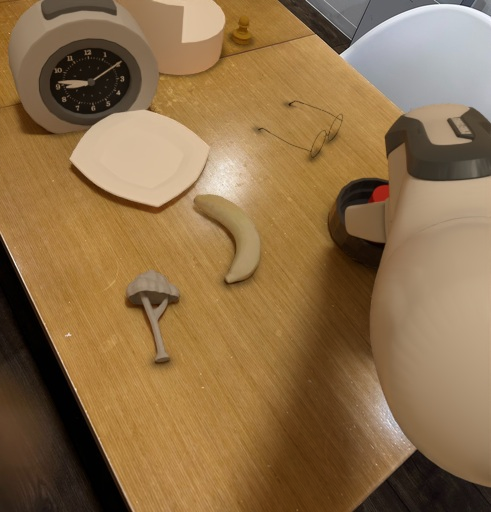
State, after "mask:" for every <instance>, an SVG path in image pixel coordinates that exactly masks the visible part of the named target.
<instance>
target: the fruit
mask: <svg viewBox="0 0 491 512" xmlns="http://www.w3.org/2000/svg"><path fill="white" fill-rule="evenodd" d="M193 204H194V205H195V206H196V207H197V208H198V209H199V210H201V211H202V212H203V213H205V214H206V215H208V216H209V217H211V218H213V219H214V220H216V221H218V222H219V223H220V224H222V225H223V226H224V227H225V228H226V229H227V230H228V231H229V232H230V233H231V235H232V237H233V239H234V240H235V246H236V247H235V254H234V257H233V260H232V263H231V265H230V268H229V271H228V272H227V273H226V275H225V276H224V281H225V282H226V283H227V284H232V283H236V282H240V281H244V280H247V279H249V278H250V277H251V276H252V275H253V273H254V272H255V271H256V270H257V267H258V266H259V265H260V264H259V263H260V261H261V255H262V254H261V253H262V243H261V242H262V241H261V237H260V233H259V230H258V229H257V226H256V225H255V223H254V221H253V220H252V219H251V218H250V216H249V215H248V214H247V213H246V212H245V211H244V210H243V209H242V208H241V207H240V206H238V205H237V204H235V203H234V202H233V201H230V200H229V199H227V198H226V197H223V196H220V195H219V194H211V193H207V194H196V195H195V197H194V198H193Z"/></svg>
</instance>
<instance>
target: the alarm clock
mask: <svg viewBox="0 0 491 512" xmlns="http://www.w3.org/2000/svg"><path fill="white" fill-rule="evenodd" d="M7 55H8V66H9V69H10V73H11V75H12V79H13V82H14V85H15V89H16V92H17V95H18V97H19V100H20V103H21V105H22V108H23V110H24V111H25V112H26V113H27V114H28V116H29V117H30V118H31V119H32V120H33V122H34V123H36V124H37V125H39V126H40V127H42V128H43V129H45V130H46V131H47V132H50V133H52V134H54V135H59V134H66V133H71V132H81V131H88V130H89V129H90V128H91V127H92V126H93V125H95V124H96V123H98V122H99V121H100V120H102V119H104V118H106V117H108V116H109V115H111V114H114V113H121V112H125V111H126V112H130V111H137V110H147V111H148V109H149V108H150V107H151V105H152V102H153V100H154V99H155V97H156V94H157V92H158V86H159V81H160V72H159V71H158V62H157V60H156V58H155V55H154V53H153V51H152V49H151V46H150V45H149V43H148V41H147V39H146V37H145V35H144V34H143V32H142V30H141V28H140V26H139V24H138V22H137V21H136V20H135V19H134V17H133V16H132V15H131V14H130V13H129V12H128V10H127V9H126V8H124V7H123V6H121V5H120V4H119V2H117V1H116V0H38V1H36V2H35V3H33V4H32V5H31V6H30V7H29V8H28V9H27V10H26V11H24V12H23V13H22V14H21V15H20V17H19V19H18V20H17V21H16V23H15V25H14V27H13V28H12V30H11V32H10V37H9V42H8V46H7Z"/></svg>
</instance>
